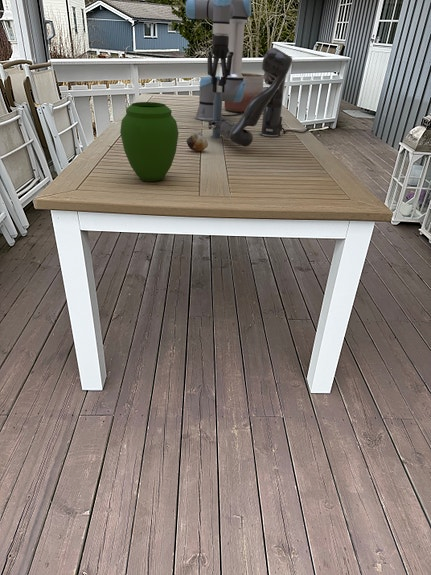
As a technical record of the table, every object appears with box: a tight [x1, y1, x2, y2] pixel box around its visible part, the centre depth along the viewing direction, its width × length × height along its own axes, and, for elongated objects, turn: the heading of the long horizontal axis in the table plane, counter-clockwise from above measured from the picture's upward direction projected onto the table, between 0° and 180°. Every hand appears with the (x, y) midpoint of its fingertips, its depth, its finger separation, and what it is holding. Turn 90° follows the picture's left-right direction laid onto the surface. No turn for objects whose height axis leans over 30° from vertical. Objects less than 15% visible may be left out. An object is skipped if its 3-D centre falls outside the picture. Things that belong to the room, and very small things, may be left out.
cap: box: [216, 86, 222, 92], centre depth 197 cm, size 4×4×2 cm
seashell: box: [186, 132, 209, 152], centre depth 180 cm, size 10×6×8 cm, turn 97°
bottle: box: [211, 92, 223, 139], centre depth 202 cm, size 4×4×23 cm
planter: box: [223, 72, 265, 114], centre depth 275 cm, size 25×25×22 cm
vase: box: [119, 101, 179, 182], centre depth 140 cm, size 20×20×24 cm
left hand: (218, 91), depth 197 cm, fingers closed on cap, 4 cm apart
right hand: (215, 122), depth 207 cm, fingers closed on bottle, 4 cm apart
